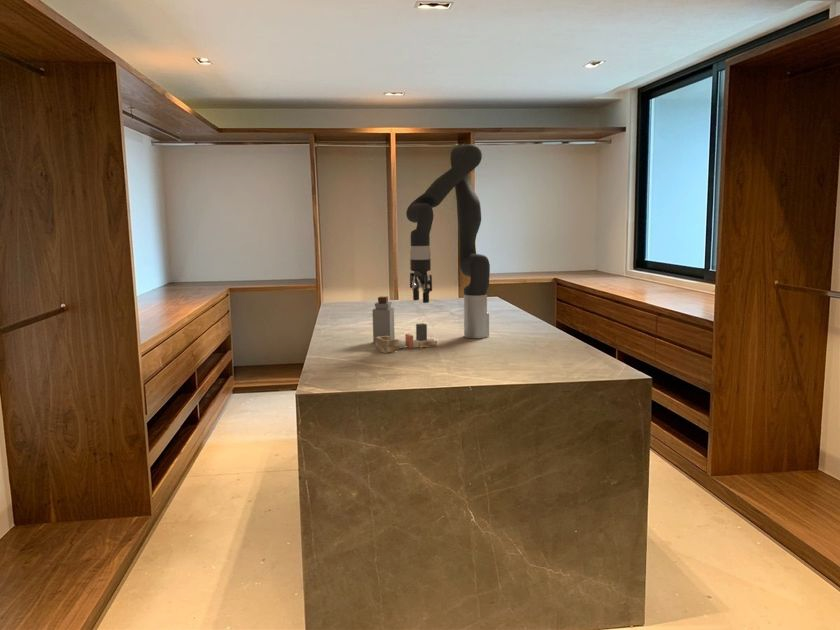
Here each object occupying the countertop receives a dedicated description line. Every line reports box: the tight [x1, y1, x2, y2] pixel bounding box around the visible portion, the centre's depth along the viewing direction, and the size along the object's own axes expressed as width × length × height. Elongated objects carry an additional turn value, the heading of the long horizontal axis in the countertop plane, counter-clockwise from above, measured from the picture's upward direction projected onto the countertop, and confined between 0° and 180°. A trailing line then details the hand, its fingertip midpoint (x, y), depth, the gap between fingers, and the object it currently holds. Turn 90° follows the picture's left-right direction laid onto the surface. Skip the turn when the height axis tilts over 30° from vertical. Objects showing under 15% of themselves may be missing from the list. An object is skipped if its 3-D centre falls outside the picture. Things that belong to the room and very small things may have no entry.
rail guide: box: [418, 339, 438, 349], centre depth 244 cm, size 7×6×2 cm
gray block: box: [404, 323, 435, 349], centre depth 243 cm, size 10×4×8 cm, turn 115°
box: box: [375, 336, 400, 354], centre depth 238 cm, size 5×9×4 cm, turn 25°
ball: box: [398, 338, 406, 349], centre depth 240 cm, size 4×4×4 cm
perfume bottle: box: [372, 296, 395, 344], centre depth 250 cm, size 7×7×18 cm
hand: (420, 301), depth 241 cm, fingers open, 8 cm apart
